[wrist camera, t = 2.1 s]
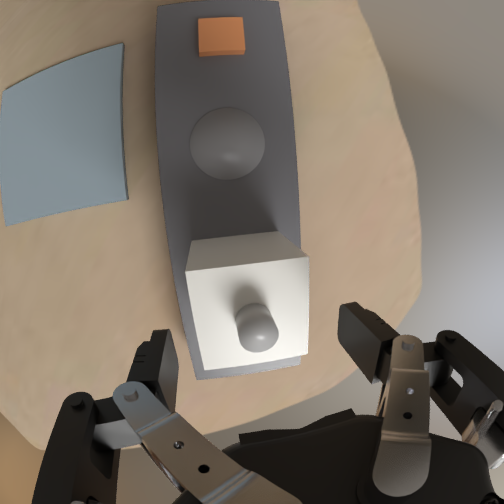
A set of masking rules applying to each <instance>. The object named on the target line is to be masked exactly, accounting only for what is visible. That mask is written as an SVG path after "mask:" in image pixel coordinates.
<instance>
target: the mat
mask: <svg viewBox="0 0 504 504" xmlns="http://www.w3.org/2000/svg"><path fill="white" fill-rule="evenodd" d="M123 60H124V44H123V43H120V44H117V45H113V46H109V47H106V48H102V49H99V50H96V51H93V52H89V53H86V54H84V55H81V56H78V57H75V58H72V59H70V60H67V61H65V62H62V63H60V64H57V65H55V66H52V67H50V68H48V69H46V70H43V71H41V72H39V73H37V74H35V75H33V76H31V77H29V78H27V79H25V80H23V81H21V82H19V83H17V84H15V85H14V86H12V87H10V88H8V89H6V90H5V91H3V95H2V103H1V114H0V184H1V195H2V204H3V212H4V219H5V225H6V226H9V225H13V224H17V223H21V222H24V221H28V220H32V219H36V218H40V217H45V216H49V215H53V214H58V213H62V212H67V211H71V210H76V209H81V208H86V207H91V206H96V205H101V204H107V203H112V202H118V201H124V200H128V199H129V197H128V189H127V179H126V168H125V156H124V140H123V109H122V89H123Z"/></svg>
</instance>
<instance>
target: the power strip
mask: <svg viewBox="0 0 504 504" xmlns="http://www.w3.org/2000/svg"><path fill="white" fill-rule="evenodd" d="M155 107H156V130H157V146H158V160H159V171H160V182H161V192H162V201H163V209H164V217H165V224H166V232H167V239H168V245H169V252H170V258H171V264H172V270H173V276H174V281H175V287H176V292H177V297H178V302H179V307H180V312H181V317H182V321H183V326H184V330H185V335H186V339H187V344H188V348H189V352H190V356H191V360H192V364H193V368H194V372H195V375H196V379H197V380H203V379H213V378H222V377H230V376H237V375H244V374H251V373H257V372H263V371H269V370H275V369H280V368H285V367H290V366H295V365H300V358H301V355H300V356H296V357H291V358H285V359H280V360H275V361H269V362H263V363H257V364H250V365H244V366H237V367H229V368H221V369H212V370H204V366H203V362H202V357H201V353H200V348H199V343H198V339H197V334H196V329H195V324H194V319H193V314H192V308H191V303H190V297H189V292H188V286H187V280H186V274H185V270H186V265H187V260H188V255H189V251H190V246H191V242H192V241H193V240H201V239H210V238H219V237H228V236H237V235H246V234H255V233H264V232H274V231H278V232H280V233H281V234H282V235H283V236H285V237H286V238H287V239H288V240H290V241H291V242H292V243H293V244H295V245H296V246H297V247H298V248H299V249H301V239H300V211H299V190H298V172H297V157H296V143H295V131H294V119H293V108H292V98H291V89H290V80H289V71H288V63H287V55H286V47H285V40H284V33H283V26H282V20H281V13H280V7H279V1H267V0H206V1H194V2H184V3H176V4H169V5H162V6H158V8H157V22H156V43H155Z"/></svg>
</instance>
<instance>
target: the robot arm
mask: <svg viewBox="0 0 504 504" xmlns="http://www.w3.org/2000/svg"><path fill="white" fill-rule="evenodd" d="M338 339H339V342H340V344H341V345H342V346H343V348H344V349H345V350H346V352H347V353H348V354H349V356H350V357H351V358H352V359H353V361H354V362H355V363H356V365H357V366H358V367H359V368H360V370H361V371H362V372H363V374H364V375H365V376H366V378H367V379H368V380H369V382H370V383H371V384H374V383H376V382H379V381H381V382H382V383H383V384H382V387H381V391H380V397H379V402H378V407H377V411H376V415H375V416H374V415H355V413H354V412H353V410H352V409H348V410H345V411H341V412H338V413H335V414H332V415H328V416H325V417H324V418H321V419H320V420H317V421H316V422H313V423H312V424H309V425H308V426H305V427H303V428H301V429H285V430H284V429H282V430H263V431H257V432H251V433H244V434H239V439H240V442H238V443H235V444H233V445H231V446H229V447H227V448H225V449H223V450H222V451H221V450H219V449H218V448H217V447H216V446H214V445H213V444H212V443H211V442H210V441H208V440H207V439H206V438H205V437H204V436H203V435H201V434H200V433H199V432H198V431H197V430H196V429H195V428H194V427H192V426H191V425H190V424H189V423H188V422H187V421H186V420H185V419H184V418H183V417H182V416H181V415H179V414H178V413H177V412H175V404H176V392H177V380H178V370H179V365H178V358H177V354H176V350H175V346H174V343H173V339H172V335H171V331H170V330H169V329H163V330H153V333H152V336H151V339H150V341H144V342H143V343H142V344H141V345H140V346H139V347H138V348H137V351H136V354H135V357H134V360H133V363H132V366H131V369H130V372H129V375H128V378H127V381H126V383H123V384H121V385H120V386H118V387H117V388H116V389H115V390H114V392H113V396H112V397H109V398H105V399H100V400H95V401H94V399H93V398H92V396H91V395H90V394H88V393H86V392H76V393H73V394H71V395H69V396H68V397H67V398H66V399H65V400H64V402H63V404H62V407H61V409H60V412H59V414H58V417H57V419H56V422H55V425H54V428H53V430H52V433H51V436H50V439H49V442H48V445H47V448H46V451H45V454H44V457H43V461H42V464H41V467H40V471H39V475H38V478H37V482H36V487H35V490H34V495H33V499H32V504H116V492H117V479H118V468H119V459H120V450H121V448H124V447H128V446H133V445H137V444H140V445H141V447H142V448H143V449H144V451H145V452H146V453H147V454H148V456H149V457H150V458H151V459H152V460H153V462H154V463H155V464H156V465H157V466H158V468H159V469H160V470H161V471H162V472H163V473H164V474H165V476H166V477H167V478H168V479H169V480H170V482H171V483H172V484H173V485H174V486H175V487H176V488H177V489H178V490H179V491H180V492H181V493H182V494H181V495H180V496H179V497H178V498H177V499H176V500H175V501H174V502H173V503H172V504H504V499H502V498H500V497H499V496H498V495H496V493H495V492H494V489H493V486H492V483H491V480H490V475H489V469H494V468H497V467H499V466H500V465H501V464H502V463H503V462H504V371H503V370H502V369H501V368H500V367H498V366H497V365H496V364H495V363H494V362H493V361H492V360H490V359H489V358H488V357H487V356H486V355H484V354H483V353H482V352H481V351H480V350H479V349H477V348H476V347H475V346H474V345H473V344H471V343H470V342H469V341H468V340H466V339H465V338H464V337H463V336H461V335H460V334H459V333H457V332H455V331H451V330H444V331H441V332H439V333H438V334H437V337H436V341H435V342H429V343H422V341H421V340H420V339H419V338H417V337H415V336H412V335H400V334H398V333H397V332H396V331H395V330H394V329H393V328H392V327H391V326H390V325H388V324H387V323H386V322H385V321H384V320H383V319H381V318H380V317H379V316H378V315H377V314H376V313H374V312H372V311H370V310H367V309H364V308H363V307H361V306H360V305H359V304H358V303H357V302H351V303H346V304H342V305H341V306H340V308H339V320H338ZM453 369H455V370H456V371H457V372H458V373H459V374H460V375H461V376H462V378H463V387H462V388H461V387H460V386H459V385H458V384H457V383H456V381H455V380H454V379H453V378H452V377H451V374H452V371H453ZM430 397H431V398H432V400H433V401H434V402H435V403H436V404H437V406H438V407H439V408H440V409H441V411H442V412H443V413H444V414H445V415H446V417H447V418H448V419H449V421H450V422H451V423H452V424H453V426H454V427H455V428H456V430H457V431H458V432H459V433H460V435H461V436H462V441H458V440H454V439H450V438H446V437H442V436H439V435H435V434H432V433H429V419H430Z"/></svg>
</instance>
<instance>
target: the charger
mask: <svg viewBox="0 0 504 504" xmlns="http://www.w3.org/2000/svg"><path fill="white" fill-rule="evenodd" d="M185 274H186V280H187V286H188V292H189V297H190V303H191V308H192V314H193V319H194V324H195V329H196V334H197V339H198V343H199V348H200V353H201V357H202V362H203V366H204V370H212V369H221V368H229V367H237V366H244V365H250V364H257V363H263V362H269V361H275V360H280V359H285V358H291V357H296V356H300V355H305V354H308V328H309V256H308V255H307V254H306V253H304V252H303V251H302V250H301V249H299V248H298V247H297V246H296V245H295V244H293V243H292V242H291V241H290V240H288V239H287V238H286V237H285V236H283V235H282V234H281V233H280V232H278V231H274V232H264V233H255V234H246V235H237V236H228V237H219V238H210V239H201V240H193V241H192V242H191V246H190V251H189V255H188V260H187V265H186V270H185Z"/></svg>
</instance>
